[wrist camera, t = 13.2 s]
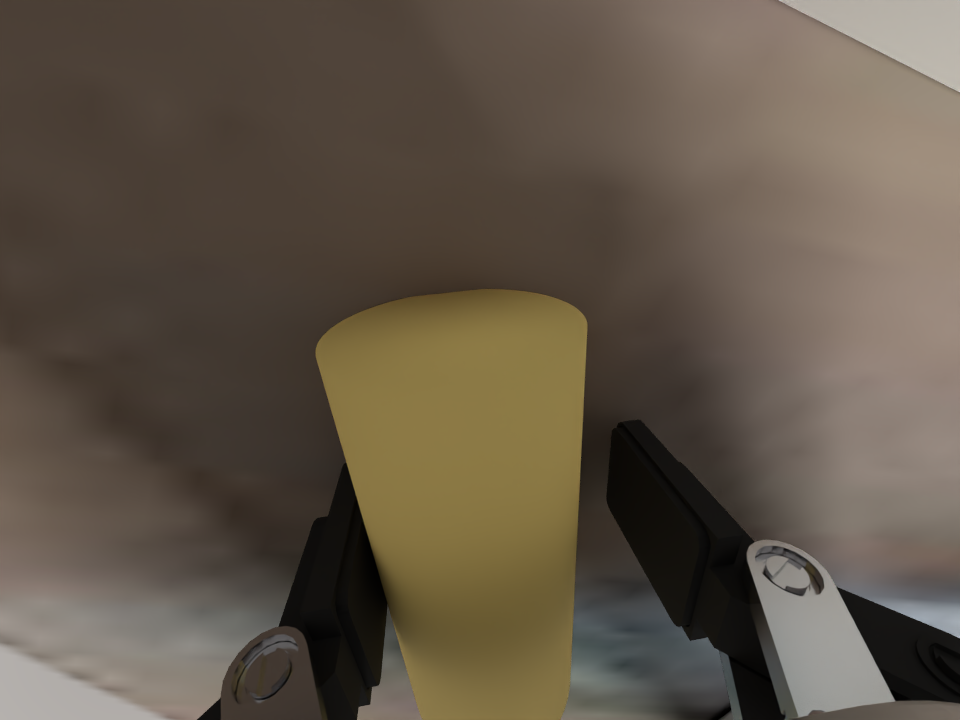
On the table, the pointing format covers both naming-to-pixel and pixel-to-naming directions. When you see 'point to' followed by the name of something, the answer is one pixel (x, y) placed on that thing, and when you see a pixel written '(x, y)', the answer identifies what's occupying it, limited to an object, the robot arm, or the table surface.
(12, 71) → the table surface
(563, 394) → the butter yellow tube
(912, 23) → the divided tray
